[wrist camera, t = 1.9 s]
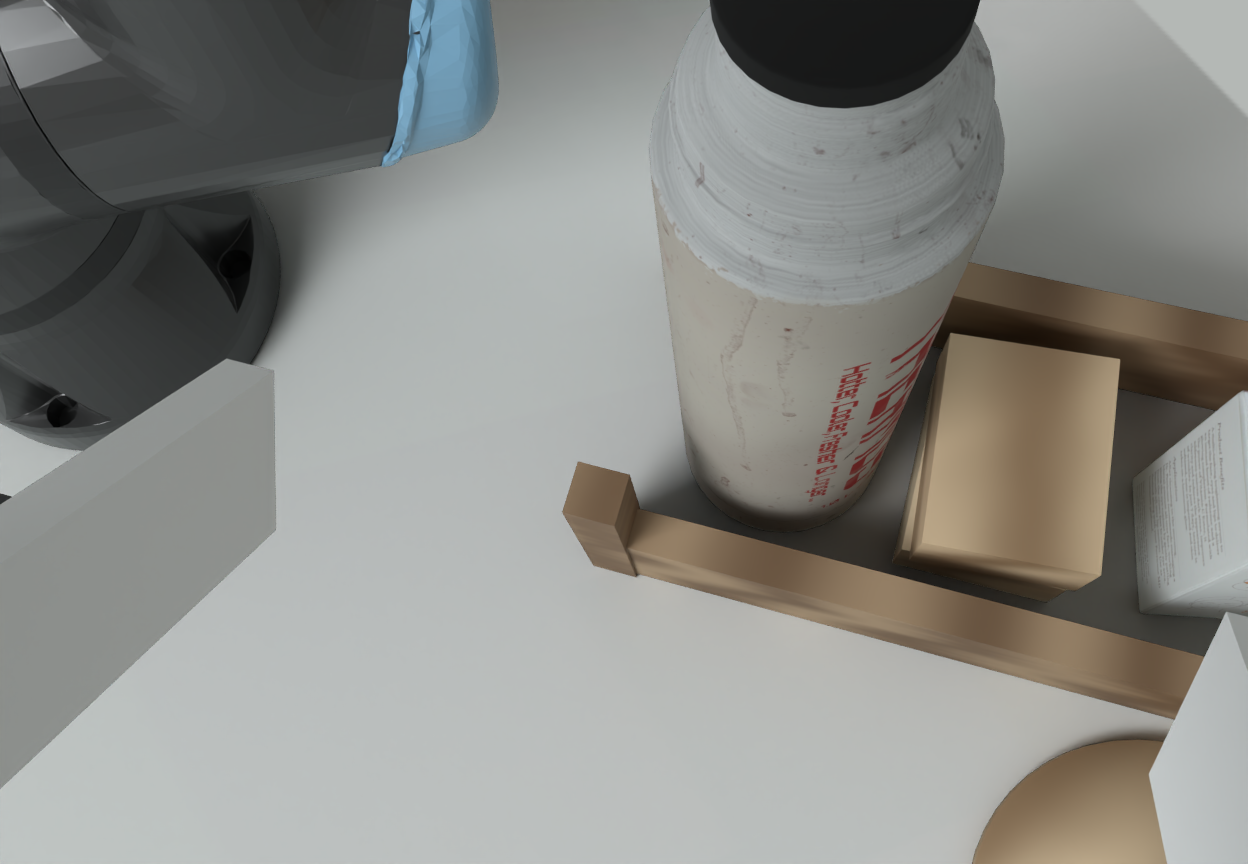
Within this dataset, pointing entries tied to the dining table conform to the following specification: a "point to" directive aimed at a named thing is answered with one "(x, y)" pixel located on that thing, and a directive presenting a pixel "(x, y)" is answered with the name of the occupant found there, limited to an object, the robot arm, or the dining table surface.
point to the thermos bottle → (815, 234)
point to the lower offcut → (989, 581)
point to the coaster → (1080, 811)
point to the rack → (928, 615)
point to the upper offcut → (1017, 462)
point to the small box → (1196, 520)
